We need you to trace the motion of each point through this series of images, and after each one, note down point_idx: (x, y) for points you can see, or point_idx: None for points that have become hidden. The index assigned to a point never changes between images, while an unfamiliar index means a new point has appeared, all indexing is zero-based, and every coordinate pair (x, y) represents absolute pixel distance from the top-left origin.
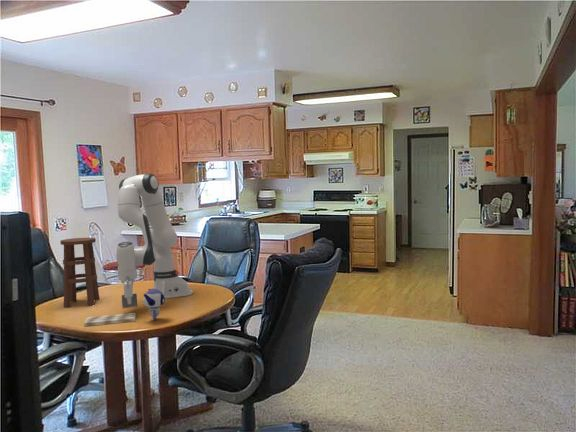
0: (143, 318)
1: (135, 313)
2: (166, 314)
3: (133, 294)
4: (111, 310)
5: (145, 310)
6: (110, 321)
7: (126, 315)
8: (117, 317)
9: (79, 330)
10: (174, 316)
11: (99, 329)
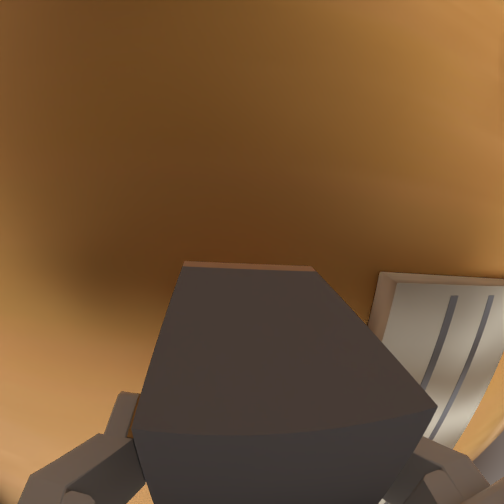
0: (486, 207)
1: (412, 281)
2: (445, 8)
3: (278, 498)
4: (70, 444)
5: (183, 137)
6: (460, 429)
7: (435, 362)
8: (434, 415)
9: None
10: (494, 4)
11: (484, 435)
